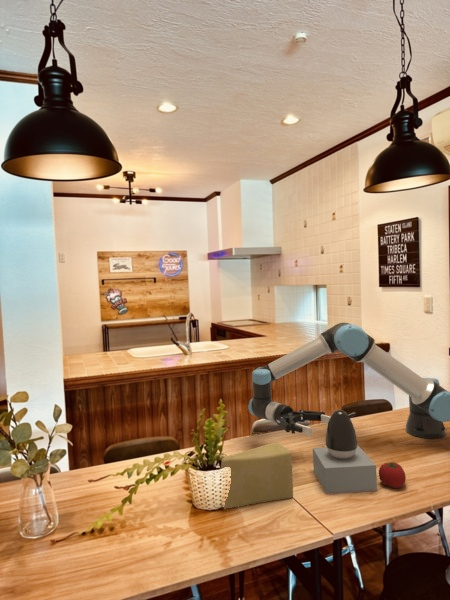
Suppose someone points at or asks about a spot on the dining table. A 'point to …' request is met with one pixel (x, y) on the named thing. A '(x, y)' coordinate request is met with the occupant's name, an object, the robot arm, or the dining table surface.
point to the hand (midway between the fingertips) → (324, 427)
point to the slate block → (344, 472)
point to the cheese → (259, 475)
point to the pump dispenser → (341, 435)
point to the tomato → (392, 475)
